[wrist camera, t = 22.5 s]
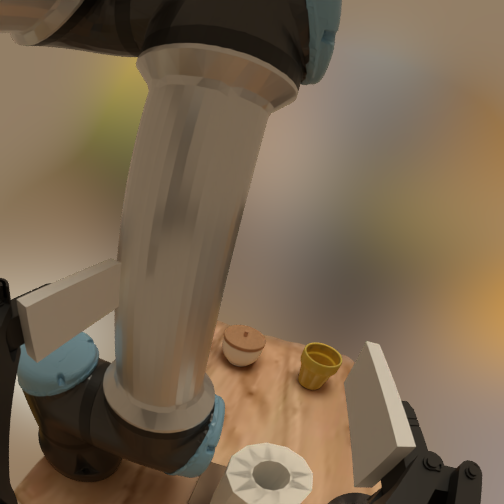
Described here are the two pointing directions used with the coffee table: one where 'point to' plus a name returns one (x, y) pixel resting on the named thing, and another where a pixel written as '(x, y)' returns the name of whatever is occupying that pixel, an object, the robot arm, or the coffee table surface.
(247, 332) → the lidded jar
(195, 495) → the cutting board
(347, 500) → the disc
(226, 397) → the coffee table surface
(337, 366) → the plant pot
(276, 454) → the towel roll
